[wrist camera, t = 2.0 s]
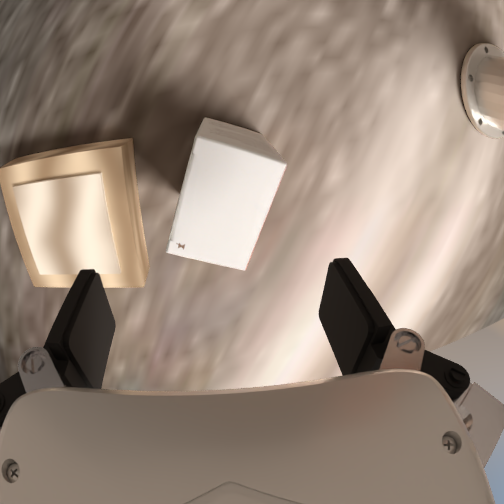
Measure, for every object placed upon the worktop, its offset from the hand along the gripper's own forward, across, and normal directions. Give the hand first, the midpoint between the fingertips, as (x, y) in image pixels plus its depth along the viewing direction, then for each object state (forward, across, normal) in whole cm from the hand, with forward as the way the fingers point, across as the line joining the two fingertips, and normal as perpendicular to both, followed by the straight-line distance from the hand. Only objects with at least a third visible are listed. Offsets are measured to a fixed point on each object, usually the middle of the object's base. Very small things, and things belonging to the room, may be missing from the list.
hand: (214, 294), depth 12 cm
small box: (+18, -1, 0) cm, 18 cm away
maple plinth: (+18, +14, +4) cm, 23 cm away
